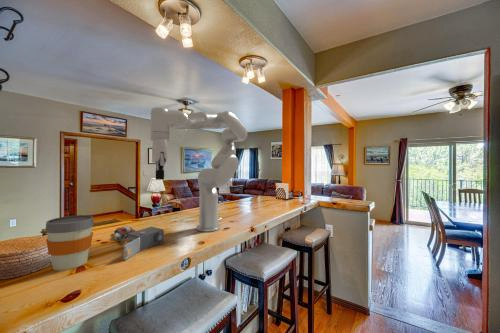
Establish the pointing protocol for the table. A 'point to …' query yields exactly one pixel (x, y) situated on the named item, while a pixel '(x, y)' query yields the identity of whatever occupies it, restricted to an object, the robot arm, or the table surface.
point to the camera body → (147, 237)
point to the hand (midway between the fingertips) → (159, 179)
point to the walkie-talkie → (122, 233)
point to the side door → (131, 248)
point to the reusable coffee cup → (69, 240)
